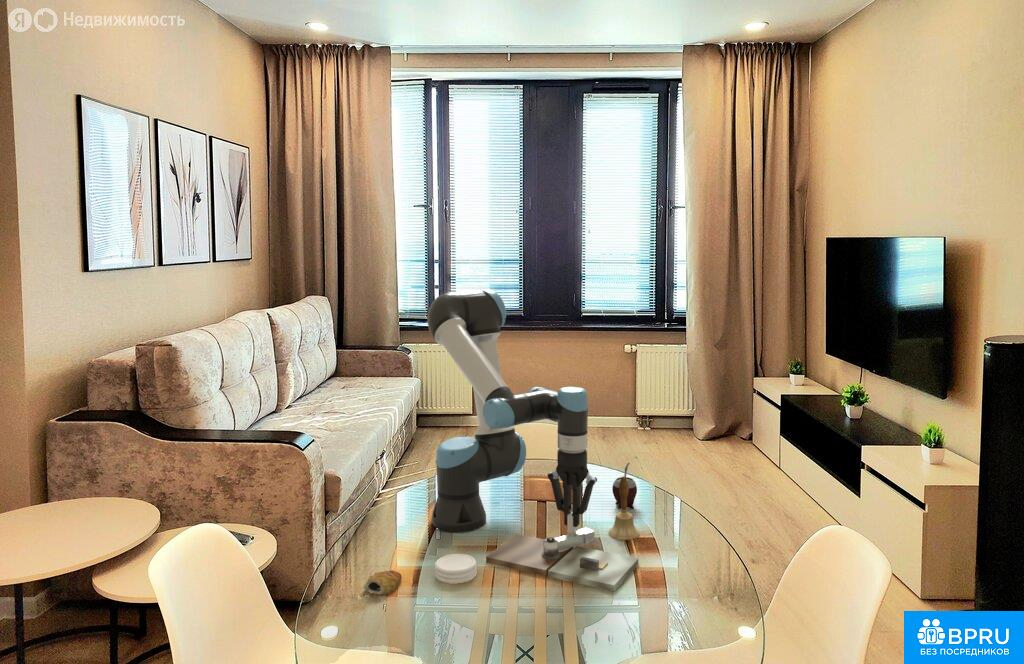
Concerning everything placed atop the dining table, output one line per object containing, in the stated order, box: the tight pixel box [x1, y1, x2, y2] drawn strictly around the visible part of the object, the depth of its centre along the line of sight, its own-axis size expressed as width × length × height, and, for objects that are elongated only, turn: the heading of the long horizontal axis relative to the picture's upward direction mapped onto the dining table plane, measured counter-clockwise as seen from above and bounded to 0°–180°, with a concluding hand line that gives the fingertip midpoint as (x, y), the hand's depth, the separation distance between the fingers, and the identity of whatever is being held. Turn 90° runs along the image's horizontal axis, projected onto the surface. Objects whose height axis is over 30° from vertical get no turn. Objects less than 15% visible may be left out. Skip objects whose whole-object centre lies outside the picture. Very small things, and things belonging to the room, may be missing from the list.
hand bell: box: [607, 476, 641, 541], centre depth 217 cm, size 8×8×16 cm
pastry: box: [363, 569, 403, 596], centre depth 190 cm, size 9×7×4 cm
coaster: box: [434, 553, 478, 585], centre depth 196 cm, size 10×10×4 cm
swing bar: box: [543, 527, 596, 556], centre depth 205 cm, size 15×4×4 cm, turn 125°
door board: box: [485, 533, 639, 592], centre depth 201 cm, size 34×16×4 cm, turn 61°
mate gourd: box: [611, 462, 638, 510], centre depth 237 cm, size 8×8×15 cm
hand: (571, 537), depth 209 cm, fingers closed
